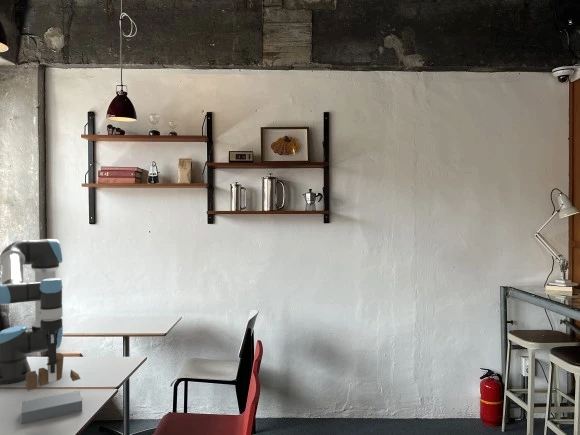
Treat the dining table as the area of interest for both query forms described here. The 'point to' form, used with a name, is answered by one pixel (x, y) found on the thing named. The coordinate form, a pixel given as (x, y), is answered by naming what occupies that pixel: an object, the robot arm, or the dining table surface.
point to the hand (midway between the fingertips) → (52, 377)
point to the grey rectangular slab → (51, 406)
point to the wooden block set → (43, 374)
